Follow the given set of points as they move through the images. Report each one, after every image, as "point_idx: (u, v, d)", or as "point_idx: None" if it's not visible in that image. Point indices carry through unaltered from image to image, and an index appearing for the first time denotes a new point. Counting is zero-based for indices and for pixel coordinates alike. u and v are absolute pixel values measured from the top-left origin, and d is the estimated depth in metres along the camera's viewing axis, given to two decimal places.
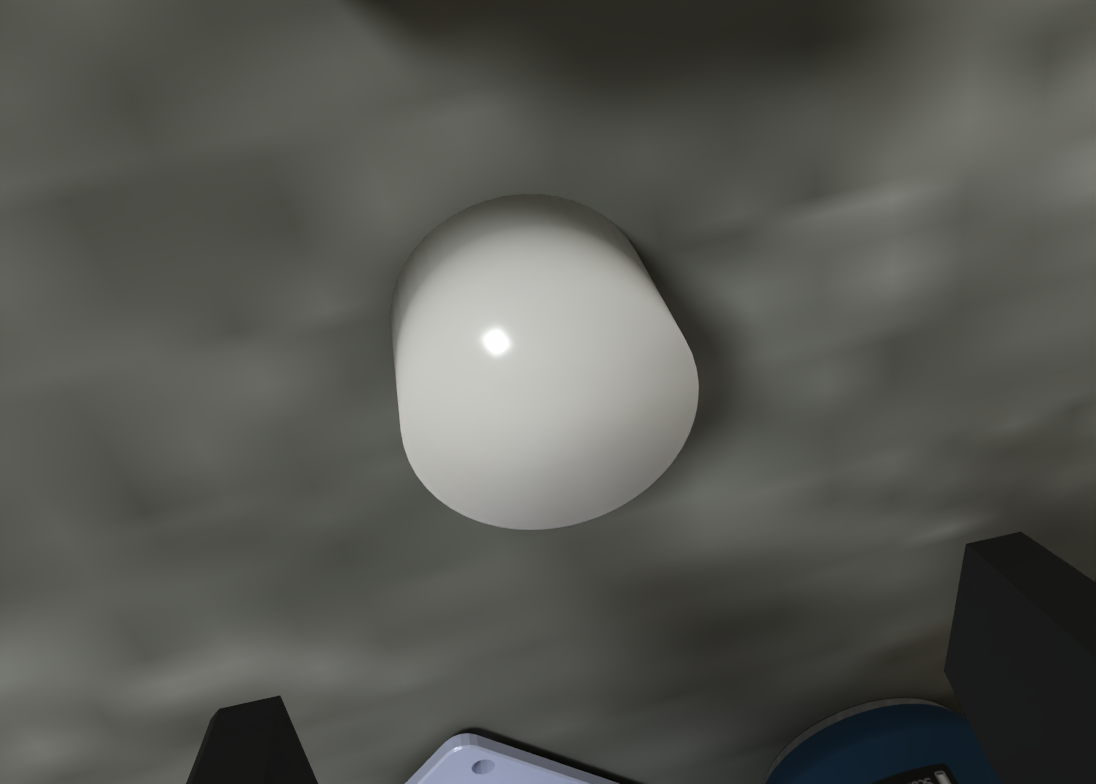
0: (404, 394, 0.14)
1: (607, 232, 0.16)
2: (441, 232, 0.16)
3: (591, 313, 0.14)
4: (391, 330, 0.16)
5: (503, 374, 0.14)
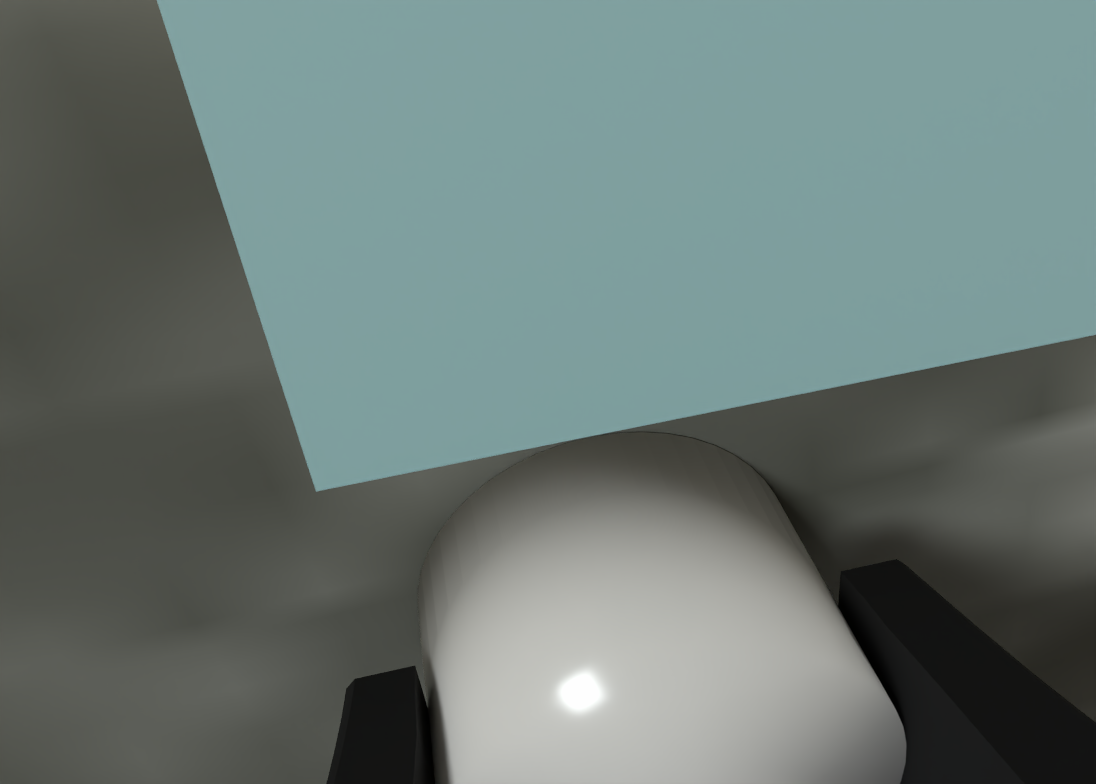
0: None
1: (751, 501, 0.10)
2: (497, 500, 0.10)
3: (755, 690, 0.08)
4: (419, 625, 0.11)
5: (607, 775, 0.09)
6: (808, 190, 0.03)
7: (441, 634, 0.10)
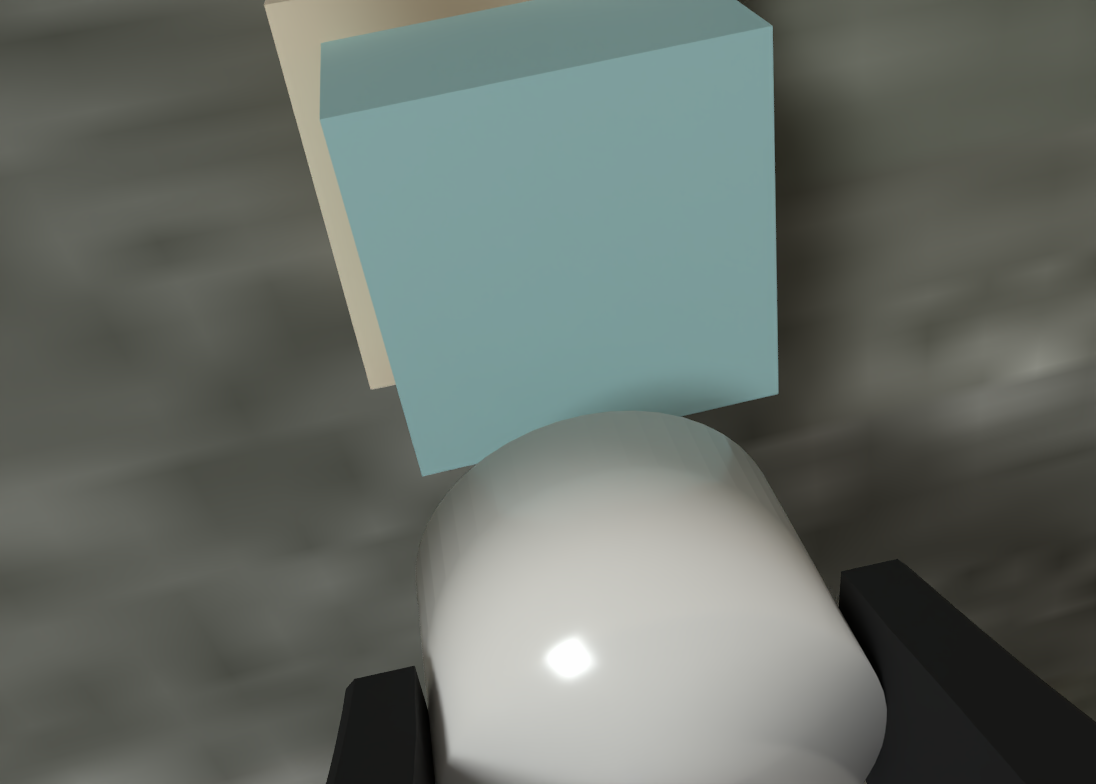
0: (445, 769, 0.09)
1: (739, 476, 0.11)
2: (494, 474, 0.11)
3: (740, 652, 0.09)
4: (417, 598, 0.11)
5: (598, 736, 0.09)
6: (526, 408, 0.13)
7: (439, 603, 0.10)
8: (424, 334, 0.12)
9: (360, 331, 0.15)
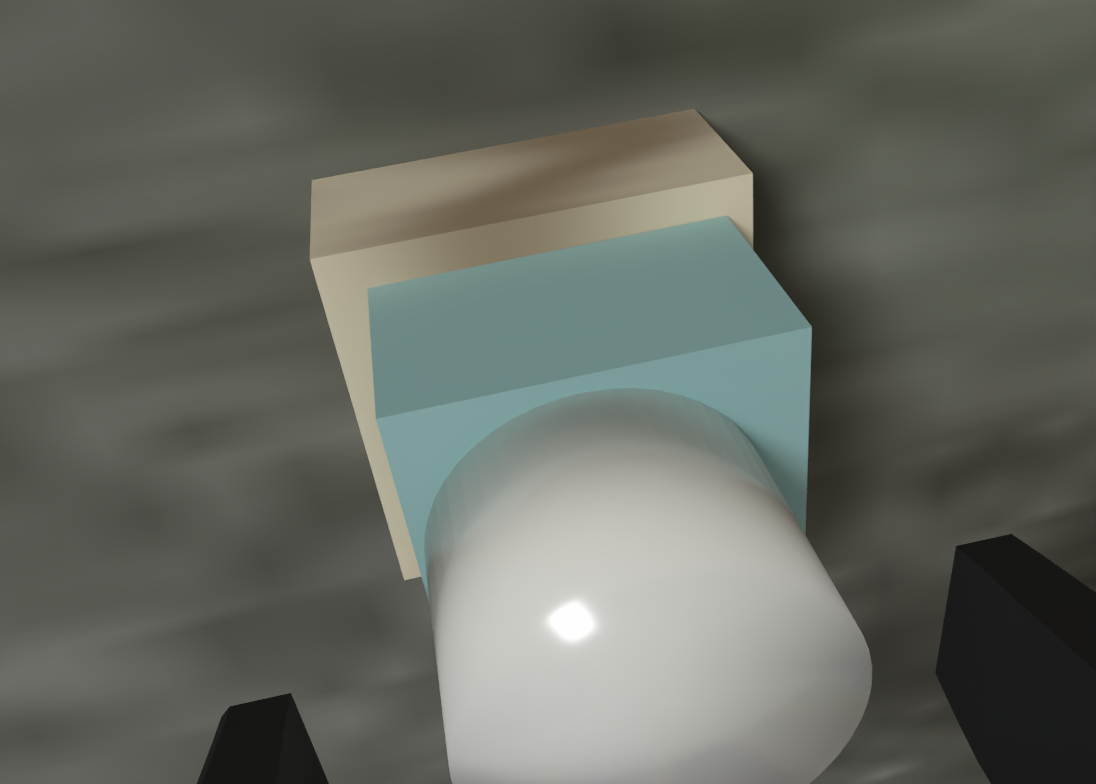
0: (456, 721, 0.10)
1: (733, 450, 0.11)
2: (500, 447, 0.11)
3: (734, 611, 0.09)
4: (426, 567, 0.12)
5: (600, 691, 0.10)
6: None
7: (448, 569, 0.11)
8: None
9: (395, 531, 0.16)
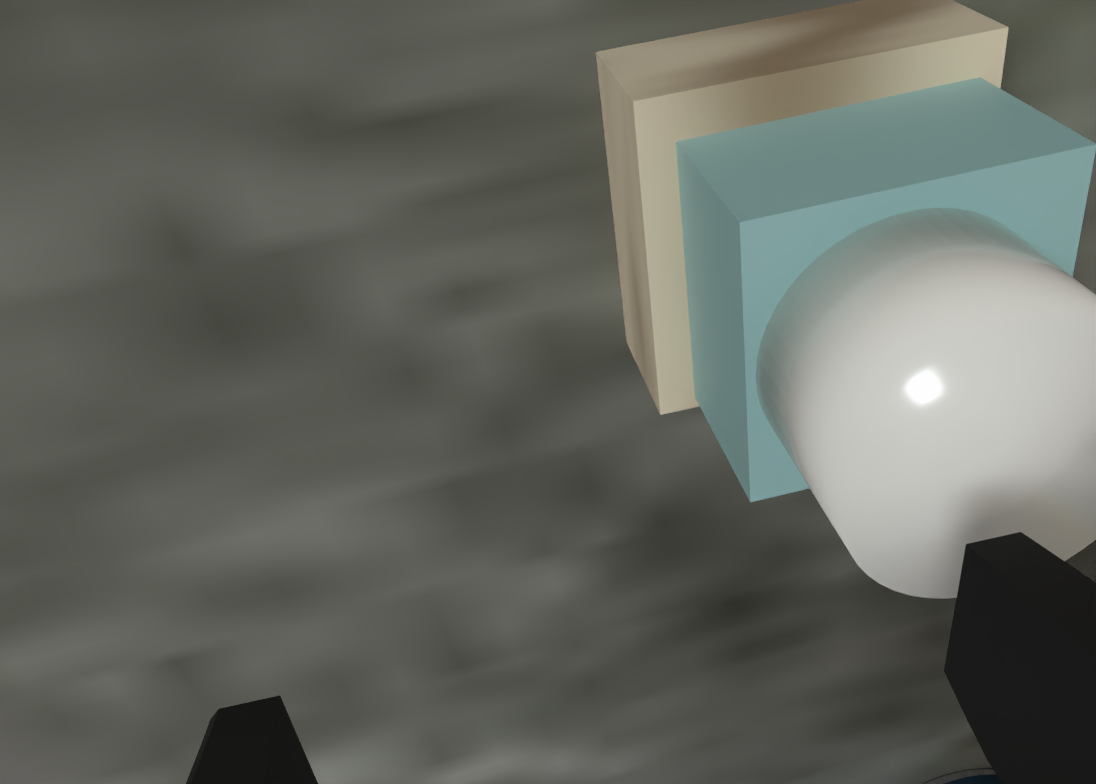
0: (861, 447, 0.12)
1: (1042, 254, 0.13)
2: (849, 252, 0.13)
3: (1091, 354, 0.12)
4: (767, 364, 0.14)
5: (974, 424, 0.12)
6: None
7: (814, 348, 0.13)
8: None
9: (661, 366, 0.18)
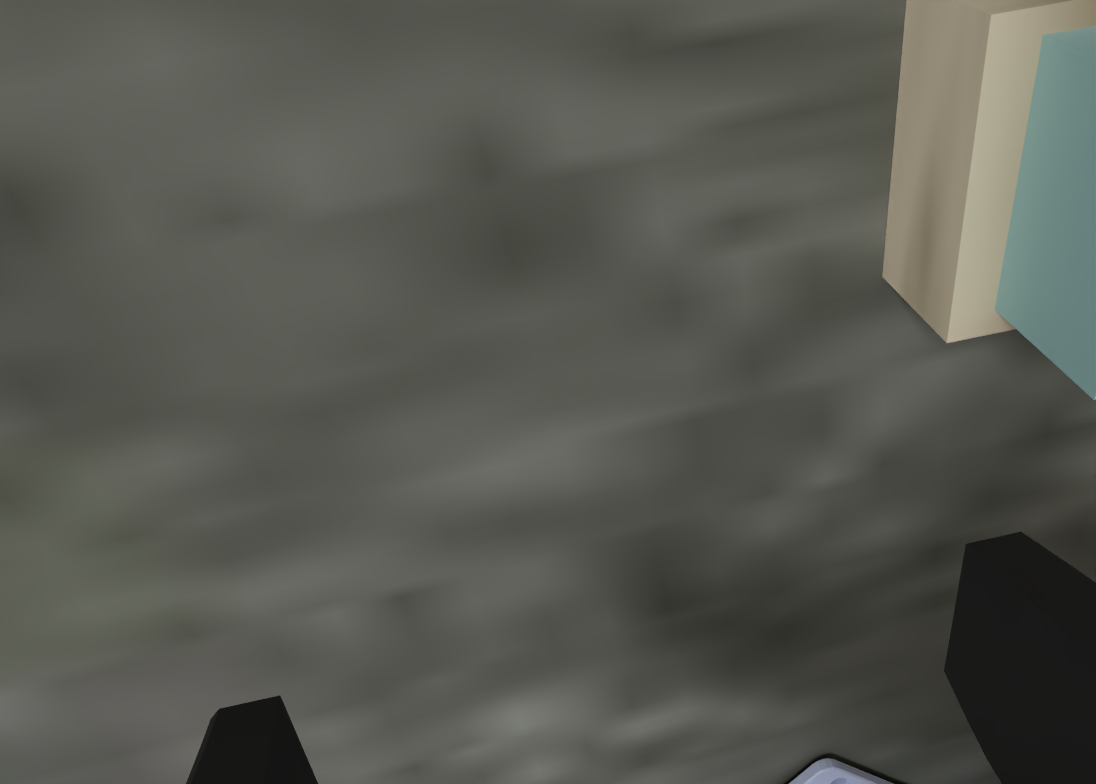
0: None
1: None
2: None
3: None
4: None
5: None
6: None
7: None
8: None
9: (959, 292, 0.18)
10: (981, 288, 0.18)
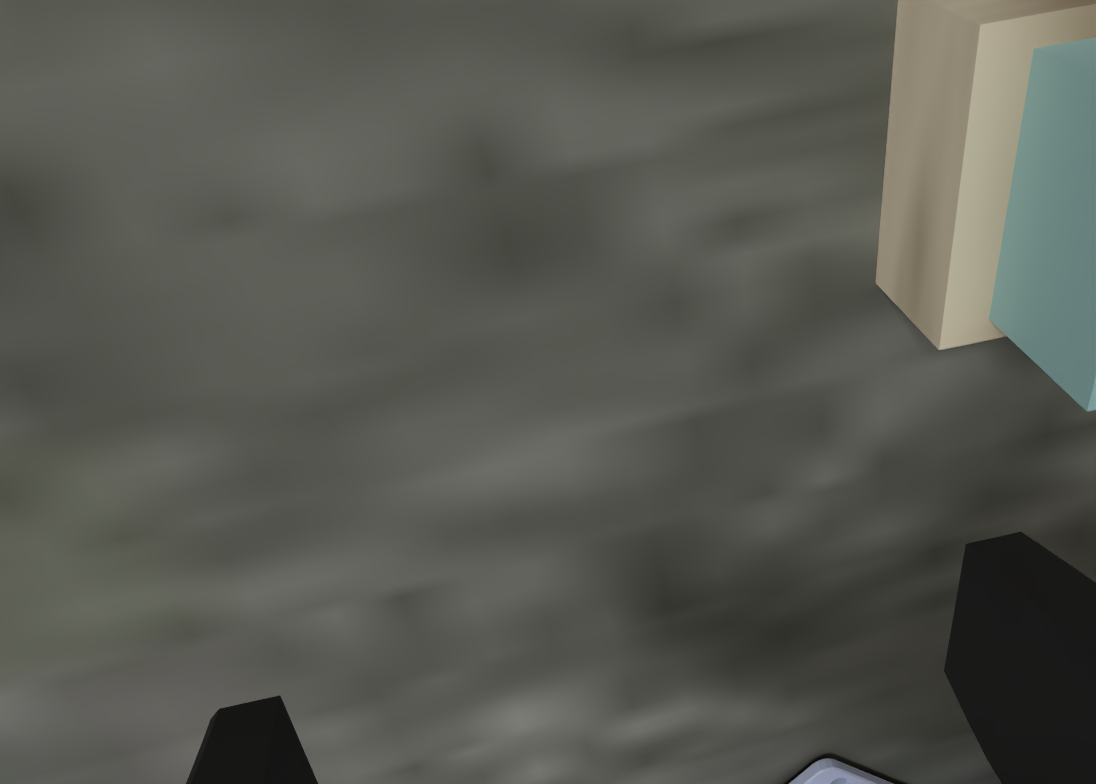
0: None
1: None
2: None
3: None
4: None
5: None
6: None
7: None
8: None
9: (950, 299, 0.18)
10: (973, 295, 0.18)
